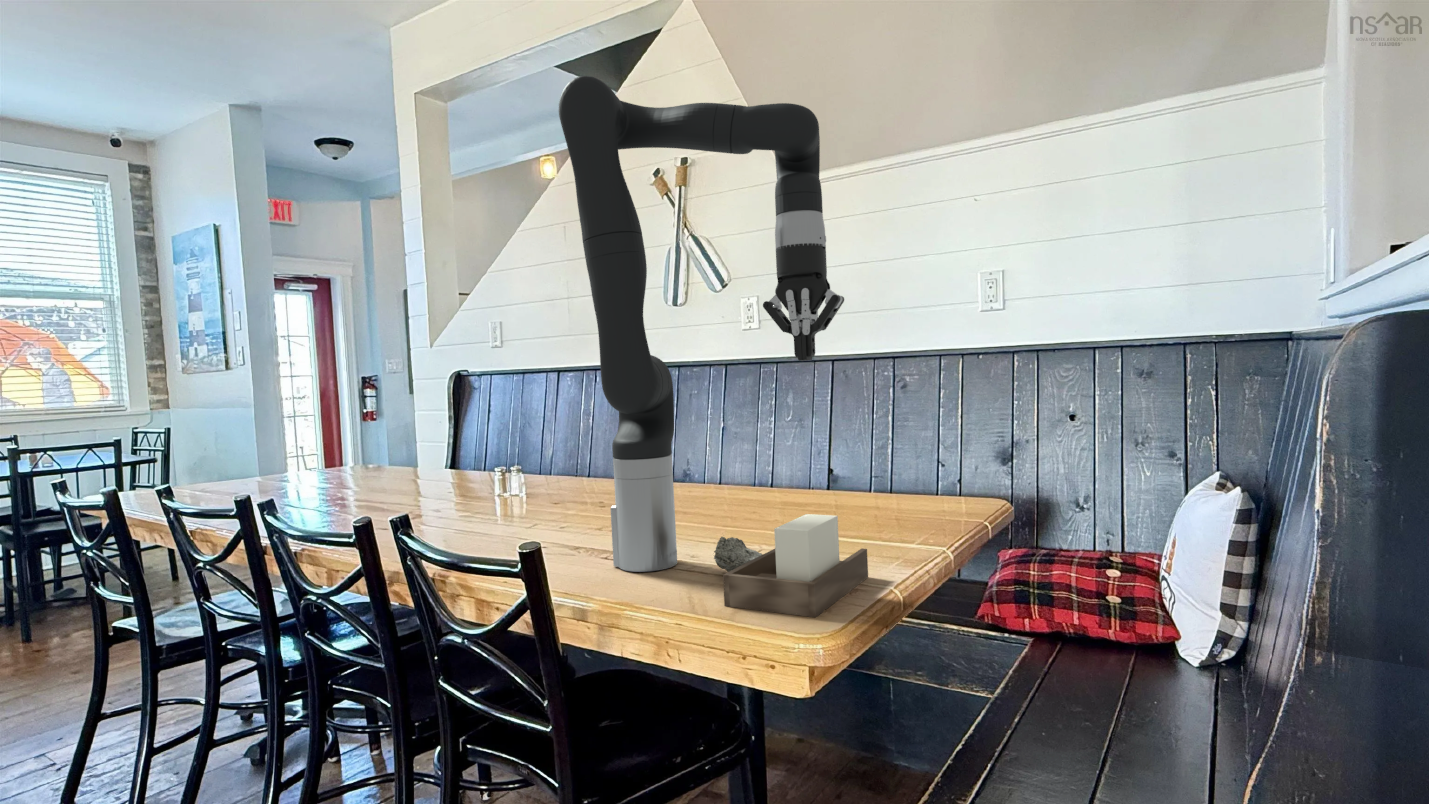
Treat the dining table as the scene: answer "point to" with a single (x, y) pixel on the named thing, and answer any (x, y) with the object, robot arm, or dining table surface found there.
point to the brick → (806, 547)
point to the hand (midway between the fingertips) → (805, 360)
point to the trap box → (791, 586)
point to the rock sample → (733, 553)
